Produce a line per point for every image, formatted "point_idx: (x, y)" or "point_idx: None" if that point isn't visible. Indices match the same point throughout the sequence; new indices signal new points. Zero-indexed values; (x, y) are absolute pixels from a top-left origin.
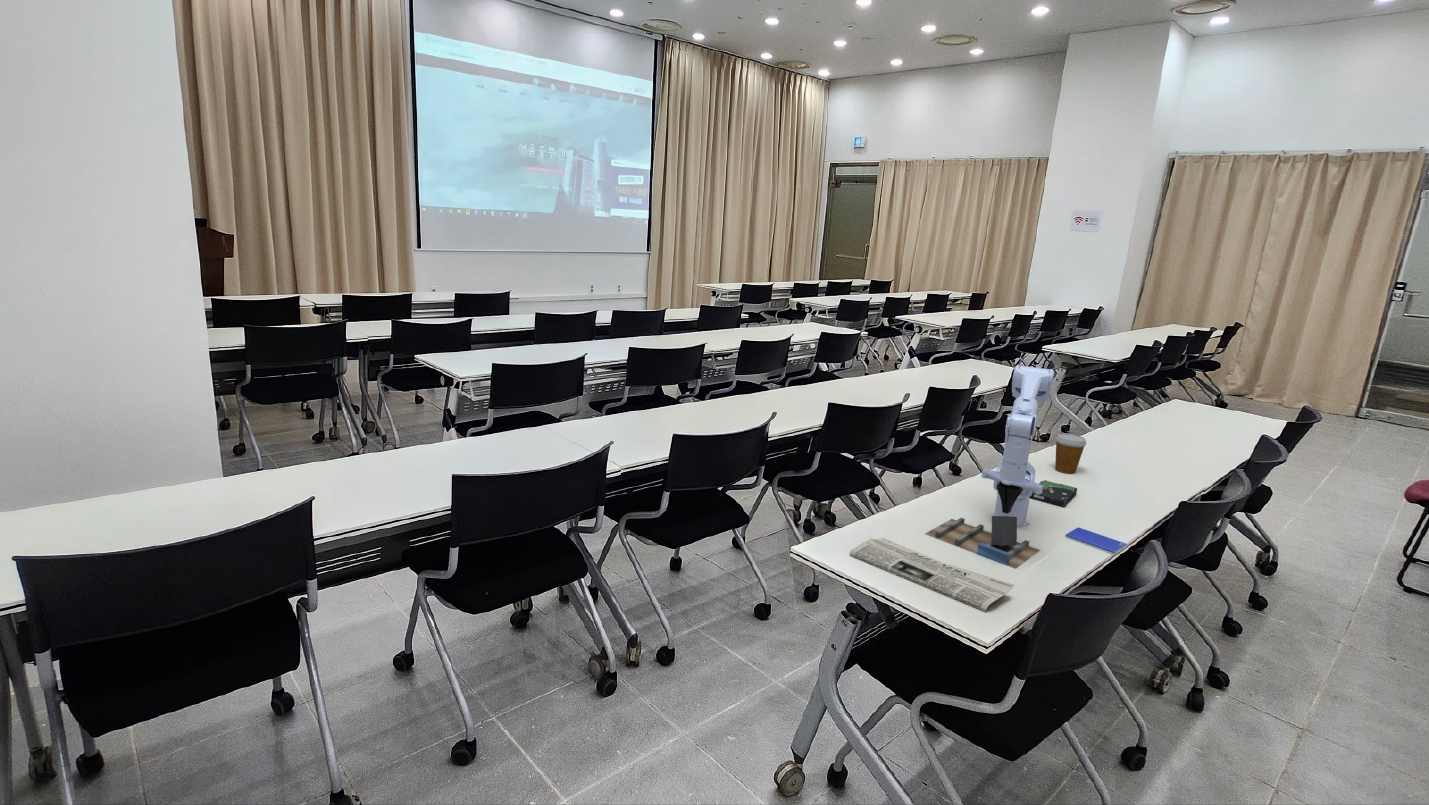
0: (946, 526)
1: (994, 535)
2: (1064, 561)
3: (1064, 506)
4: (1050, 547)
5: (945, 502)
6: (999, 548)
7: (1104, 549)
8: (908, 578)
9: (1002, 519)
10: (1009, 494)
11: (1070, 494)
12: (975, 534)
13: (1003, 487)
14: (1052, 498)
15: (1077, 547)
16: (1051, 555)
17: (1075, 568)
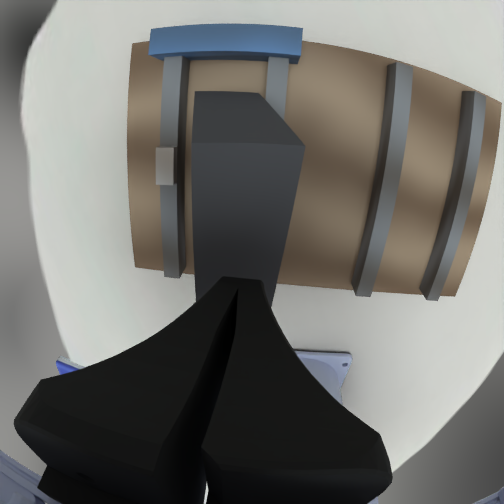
0: (473, 176)
1: (251, 102)
2: (77, 256)
3: None
4: (142, 320)
5: (458, 380)
6: None
7: (72, 367)
8: None
9: (204, 133)
10: (142, 388)
11: None
12: (367, 219)
13: (263, 492)
14: None
15: (109, 356)
16: (113, 270)
17: (46, 233)
